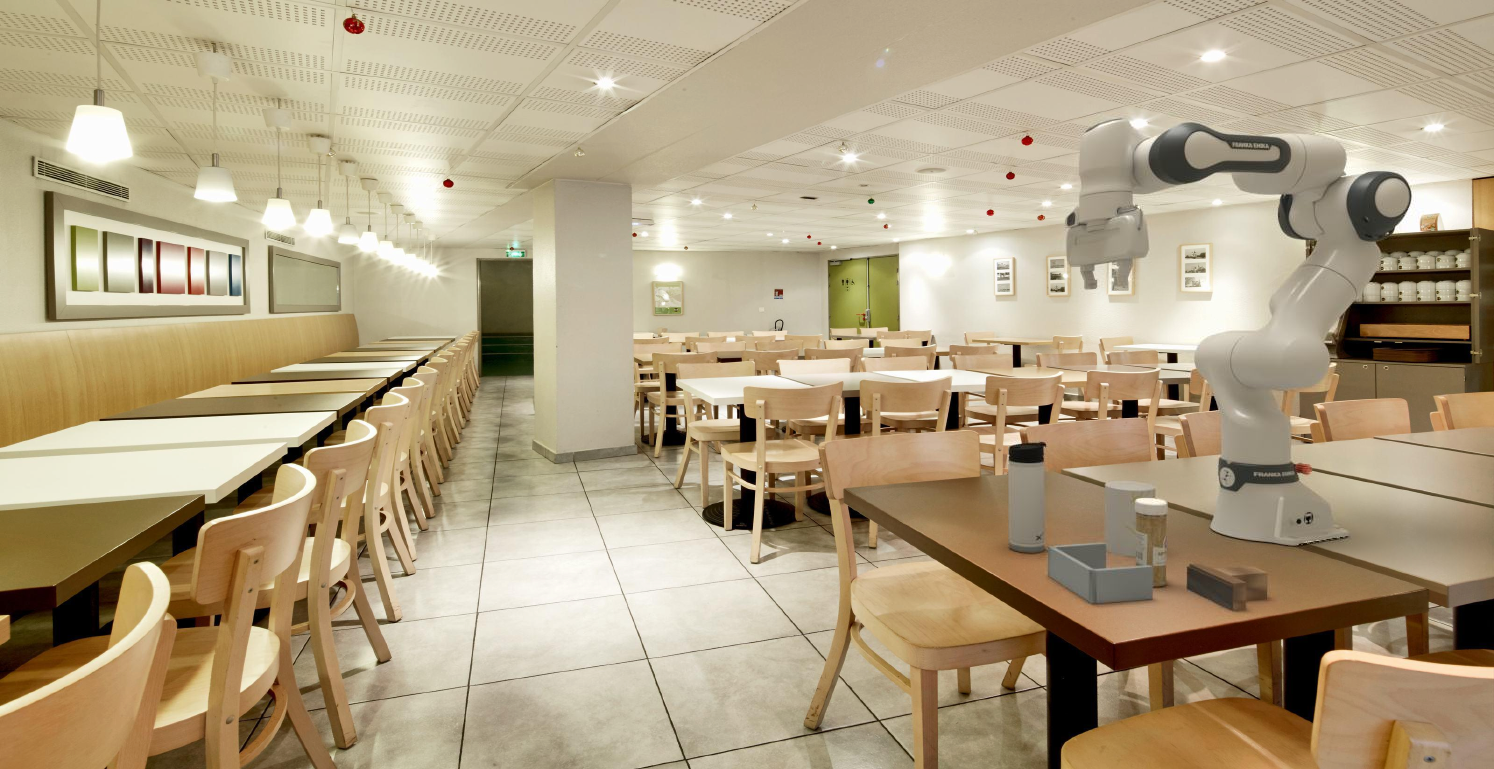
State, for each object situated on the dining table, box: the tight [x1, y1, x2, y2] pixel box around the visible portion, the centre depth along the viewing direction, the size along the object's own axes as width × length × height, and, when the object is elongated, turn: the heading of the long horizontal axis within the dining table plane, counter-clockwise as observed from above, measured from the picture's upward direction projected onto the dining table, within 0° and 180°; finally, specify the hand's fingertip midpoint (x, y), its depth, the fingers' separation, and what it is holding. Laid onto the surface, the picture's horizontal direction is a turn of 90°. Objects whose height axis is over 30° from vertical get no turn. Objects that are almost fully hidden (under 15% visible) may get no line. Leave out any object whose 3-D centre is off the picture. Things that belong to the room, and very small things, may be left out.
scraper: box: [1186, 562, 1269, 611], centre depth 111 cm, size 8×9×4 cm
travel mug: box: [1007, 441, 1047, 554], centre depth 137 cm, size 6×7×20 cm
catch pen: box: [1047, 542, 1154, 605], centre depth 117 cm, size 10×13×5 cm
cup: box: [1104, 480, 1156, 558], centre depth 134 cm, size 8×8×12 cm
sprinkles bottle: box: [1135, 497, 1169, 588], centre depth 118 cm, size 5×5×14 cm
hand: (1105, 288), depth 136 cm, fingers open, 8 cm apart
